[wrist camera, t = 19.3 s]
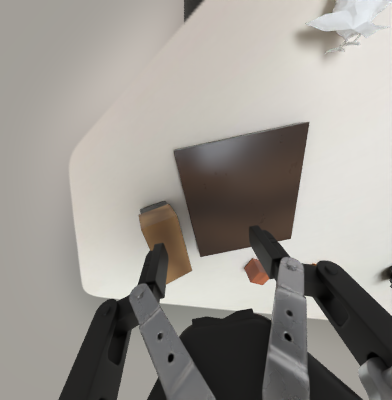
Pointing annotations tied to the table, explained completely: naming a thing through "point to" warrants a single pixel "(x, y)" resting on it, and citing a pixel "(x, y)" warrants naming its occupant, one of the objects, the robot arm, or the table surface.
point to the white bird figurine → (351, 19)
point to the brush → (166, 237)
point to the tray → (243, 186)
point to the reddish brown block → (256, 272)
